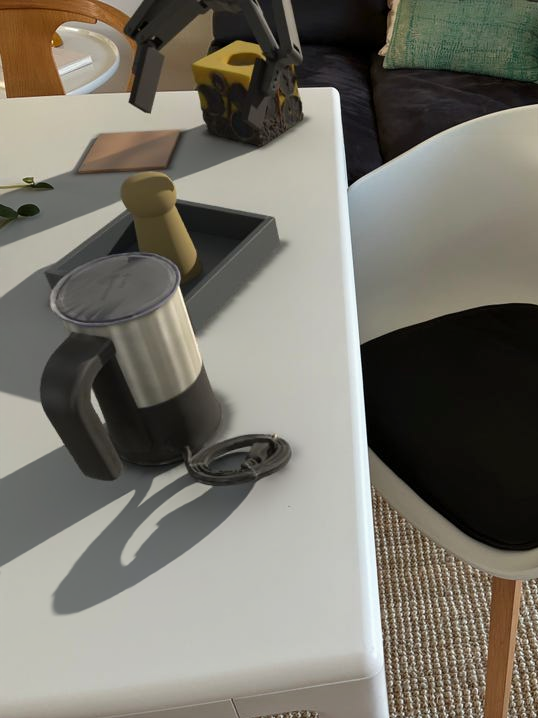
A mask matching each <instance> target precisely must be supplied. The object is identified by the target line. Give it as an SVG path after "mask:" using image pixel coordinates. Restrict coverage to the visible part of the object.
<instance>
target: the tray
mask: <svg viewBox="0 0 538 718" xmlns="http://www.w3.org/2000/svg"><path fill="white" fill-rule="evenodd" d="M175 206H176V209H177V211H178V213H179V215H180V217H181V219H182V222H183V224H184V226H185V228H186V230H187V232H188V234H189V237H190V239H191V241H192V243H193V245H194V247H195V250H196V252H197V254H198V256H199V258H200V260H201V262H202V270H201V272H200V274H199V275H197V276H196V277H195V278H194V279H192V280H190V281H189V282H187V283H184V284H181V285H179V287H180V290H181V293H182V296H183V300H184V303H185V306H186V309H187V313H188V316H189V319H190V322H191V325H192V329H193V332H194V335H197V334H198V332H200V330H202V328H203V327H204V326H206V325H207V323H208V322H210V320H212V318H213V317H214V316H215V315H216V314H217V313H218V312H219V311H220V310H221V309H222V308H223V307H224V306H225V305H226V303H228V302H229V301H230V299H231V298H232V297H233V296H234V295H236V293H237V292H239V290H240V289H241V288H242V287H243V286H244V285H245V284H246V283H247V282H248V281H249V280H250V279H251V278H252V277H253V276H254V275H255V274H256V273H257V272H258V271H259V269H261V267H262V266H263V265H264V264H265V263H266V262H267V261H268V260H269V259H270V258H271V257H272V256H274V254H275V253H276V252H277V251H278V250H279V249H280V248H281V247H282V245H281V241H280V235H279V231H278V226H277V221H276V217H275V216H272V215H267V214H262V213H256V212H249V211H244V210H239V209H234V208H229V207H224V206H218V205H212V204H206V203H203V202H202V203H201V202H198V201H197V202H196V201H192V200H191V201H190V200H185V199H180V198H177V199H176V203H175ZM134 252H137V253H140V251H139V246H138V241H137V235H136V230H135V224H134V219H133V214H132V213H131V212H129V211H128V210H127V208H126V209H125V210H124V211H122V212H121V213H119V215H117V216H116V217H115V218H113V219H112V220H110V221H109V222H108V223H106V224H105V225H104V226H103V227H101V228H99V229H98V230H96V232H95V233H93V234H92V235H90V236H89V237H87V238H86V240H84V241H83V242H81V243H80V244H79V245H77V246H76V247H74V248H73V249H72V250H70V251H69V252H68V253H67V254H66V255H64V256H63V257H62V258H60V259H59V260H58V261H56V262H54V264H52V265H51V266H50V267H48V268H47V269H45V270H44V271H43V274H44V276H45V278H46V280H47V282H48V284H49V287H50V289H51V291H52V290H53V288H54V287H55V285H56V284H57V283H58V282H59V281H60V280H61V279H62V278H63V277H64V276H65V275H67V274H69V273H70V272H71V271H73V270H74V269H76V268H77V267H79V266H82V265H84V264H86V263H88V262H91V261H93V260H95V259H99V258H103V257H106V256H110V255H116V254H123V253H134Z"/></svg>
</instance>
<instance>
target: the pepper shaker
mask: <svg viewBox="0 0 538 718" xmlns="http://www.w3.org/2000/svg"><path fill="white" fill-rule="evenodd" d="M177 192H178V191H177V188H176V185H175V184H174V182H173V180H172V179H171V178H170V177H169V176H168V175H167V174H165V173H163V172H159V171H153V170H152V171H151V170H146V171H141V172H138V173H135V174H132V175H130V176H129V177H128V178H126V179H124V181H123V182H122V184H121V187H120V191H119V193H120V194H119V195H120V200H121V202H122V204H123V205H124V207H125V208H126V209H127V210H128V211H129V212H131V213H132V214H133V219H134V224H135V230H136V235H137V241H138V246H139V251H140V253H152V254H156V255H158V256H161V257H164V258H166V259H168V260H170V261H171V262H172V263H174V264H175V265H176V266H177V268H178V270H179V272H180V278H181V279H180V283H179V285H181V284H184V283H187V282H189V281H190V280H192V279H194V278H195V277H196V276H197V275H199V274H200V272H201V270H202V262H201V260H200V258H199V256H198V254H197V252H196V250H195V247H194V245H193V243H192V241H191V239H190V237H189V234H188V232H187V230H186V228H185V226H184V224H183V222H182V219H181V217H180V215H179V213H178V211H177V209H176V206H175V203H176V199H178V198H177Z"/></svg>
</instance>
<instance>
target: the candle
mask: <svg viewBox="0 0 538 718" xmlns="http://www.w3.org/2000/svg"><path fill="white" fill-rule="evenodd" d="M261 53H263V52H262V50H261V48H260V46H259V44H258V43H257V44H256V43H253V42H247V41H243V40H235V41H233V42H231V43H230V44H228V45H226V46H224V47H222V48H220V49H219V50H216V51H215V52H212V53H211V54H208V55H206V56H205V57H203V58H201V59H199V60H197V61H194V62H193V63H192V64H191V65H190V67H191V71H192V74H193V76H194V77H193V78H194V82H195V84H196V91H197V94H198V99H199V104H200V110H201V111H202V115H201V116H202V120H203V122H204V123H205V125H206V131H207V133H208V134H209V135H215V136H217V137H222V138H227V139H229V140H234V141H238V142H243V143H246V144H251V145H255V146H257V147H262V146H265V145H267V144H269V143H270V142H272V141H273V140H275V139H276V138H278V137H279V136H281V135H282V134H284V133H285V132H287V131H288V130H291V128H292V127H294V126H296V125H298V124H299V123H300V122H302V121H303V120H304V118H305V117H304V116H305V114H304V112H303V102H302V99H301V95H300V92H299V87H298V82H297V80H298V76H297V74H296V70H295V65H294V64H291V65H287V66H285V67H284V68H283V69H282V72H281V76H280V80H279V84H278V87H277V88H278V89H277V93H276V95H275V96H274V98H272V97H269V99H268V103H267V107H266V111H265V115H264V120H263V124H262V128H261V130H256V129H254V128H252V127H251V126H250V125H248V124H247V123H245V122H244V121H243V120H241V117H242V113H243V109H244V105H245V100H246V96H247V92H248V88H249V84H250V80H251V75H252V71H253V67H254V63H255V59H256V58H263V59H264V60H266V58H265V57H264V56H263V55H262V54H261Z"/></svg>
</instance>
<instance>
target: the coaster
mask: <svg viewBox="0 0 538 718" xmlns="http://www.w3.org/2000/svg"><path fill="white" fill-rule="evenodd" d="M180 135H181V129H169V130H151V131H150V130H149V131H131V132H129V131H128V132H110V133H109V132H107V133H99V134H98V135H97V136H98V137H97V138H96V139H95V141H94V143H93V145H92V146H91V148H90V150H89V151H88V153H87V155H86V157H85V159H84V160H83V162H82V164H81V165H80V167H79V168H78V170H77V172H78V174H94V173H95V174H97V173H113V172H115V173H116V172H131V171H132V172H133V171H151V170H152V171H153V170H166V169H167V167H168V164H169V162H170V160H171V157H172V155H173V152H174V150H175V147H176V145H177V142H178V140H179V137H180Z"/></svg>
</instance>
